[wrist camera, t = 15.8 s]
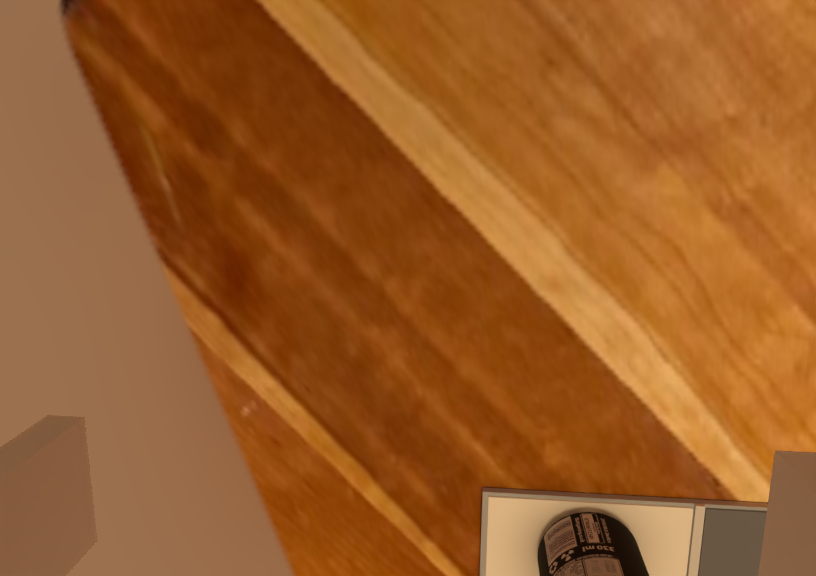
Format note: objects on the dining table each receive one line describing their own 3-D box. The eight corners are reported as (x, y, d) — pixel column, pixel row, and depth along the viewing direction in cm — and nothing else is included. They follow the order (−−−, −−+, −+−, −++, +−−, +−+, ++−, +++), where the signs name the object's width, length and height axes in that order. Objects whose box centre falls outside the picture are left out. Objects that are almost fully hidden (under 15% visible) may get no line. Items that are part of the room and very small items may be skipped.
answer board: (482, 487, 48) (482, 494, 47) (922, 511, 45) (931, 519, 44) (479, 584, 50) (479, 593, 49) (903, 613, 47) (911, 622, 46)
